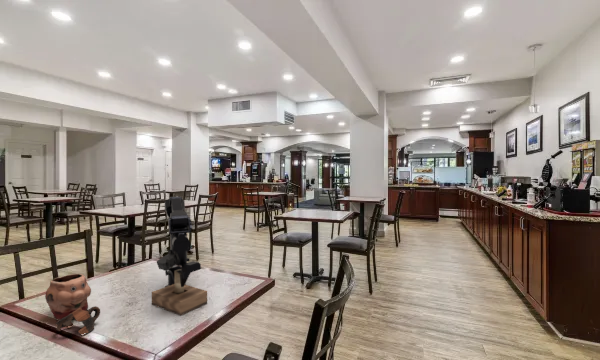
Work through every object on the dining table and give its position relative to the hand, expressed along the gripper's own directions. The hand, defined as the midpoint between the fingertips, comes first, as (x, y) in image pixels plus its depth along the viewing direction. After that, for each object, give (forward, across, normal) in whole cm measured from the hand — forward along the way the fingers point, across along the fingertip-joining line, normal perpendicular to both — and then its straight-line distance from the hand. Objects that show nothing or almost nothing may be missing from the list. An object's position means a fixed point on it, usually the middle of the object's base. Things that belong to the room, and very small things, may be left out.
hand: (179, 285), depth 116 cm
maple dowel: (+3, 0, 0) cm, 3 cm away
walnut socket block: (+7, 0, 0) cm, 7 cm away
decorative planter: (+8, -27, -27) cm, 39 cm away
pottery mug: (+8, -10, -30) cm, 32 cm away
